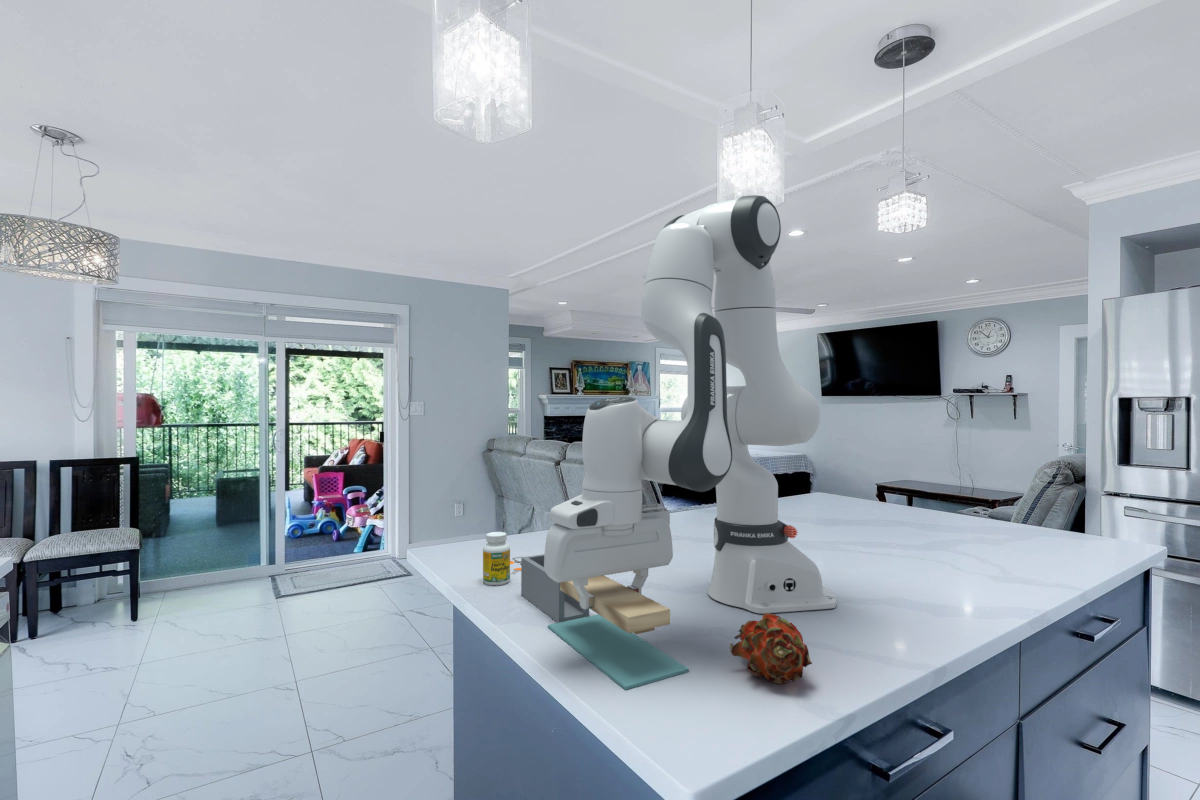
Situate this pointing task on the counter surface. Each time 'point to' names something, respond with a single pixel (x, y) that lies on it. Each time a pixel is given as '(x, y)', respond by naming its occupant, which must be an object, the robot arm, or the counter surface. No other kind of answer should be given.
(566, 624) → the teal mat
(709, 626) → the counter surface
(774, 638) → the dragon fruit
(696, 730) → the counter surface
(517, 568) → the key chain
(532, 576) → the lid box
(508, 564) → the supplement bottle
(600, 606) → the oak lid
